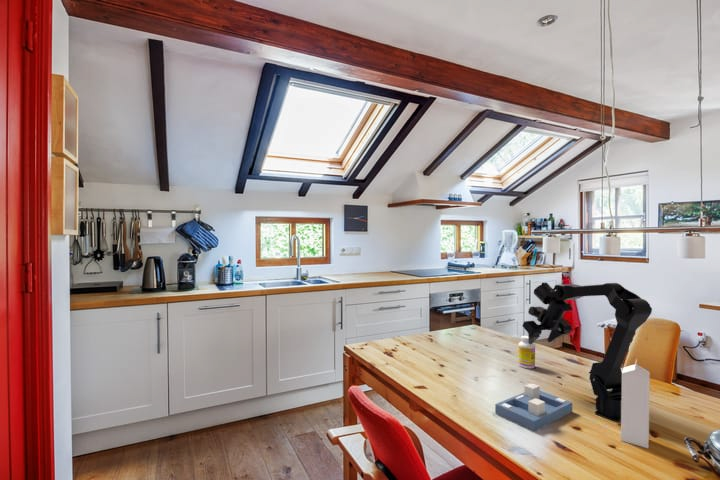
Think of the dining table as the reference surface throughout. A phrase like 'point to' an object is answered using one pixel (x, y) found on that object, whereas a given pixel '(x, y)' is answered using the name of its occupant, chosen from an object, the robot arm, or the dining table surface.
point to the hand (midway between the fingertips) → (539, 342)
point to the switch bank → (519, 414)
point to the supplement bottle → (526, 353)
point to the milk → (635, 405)
